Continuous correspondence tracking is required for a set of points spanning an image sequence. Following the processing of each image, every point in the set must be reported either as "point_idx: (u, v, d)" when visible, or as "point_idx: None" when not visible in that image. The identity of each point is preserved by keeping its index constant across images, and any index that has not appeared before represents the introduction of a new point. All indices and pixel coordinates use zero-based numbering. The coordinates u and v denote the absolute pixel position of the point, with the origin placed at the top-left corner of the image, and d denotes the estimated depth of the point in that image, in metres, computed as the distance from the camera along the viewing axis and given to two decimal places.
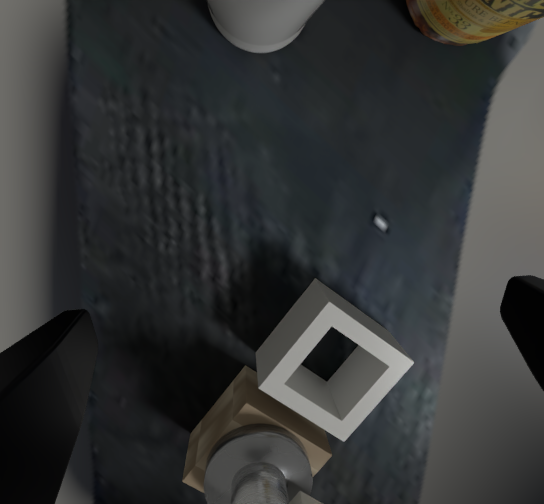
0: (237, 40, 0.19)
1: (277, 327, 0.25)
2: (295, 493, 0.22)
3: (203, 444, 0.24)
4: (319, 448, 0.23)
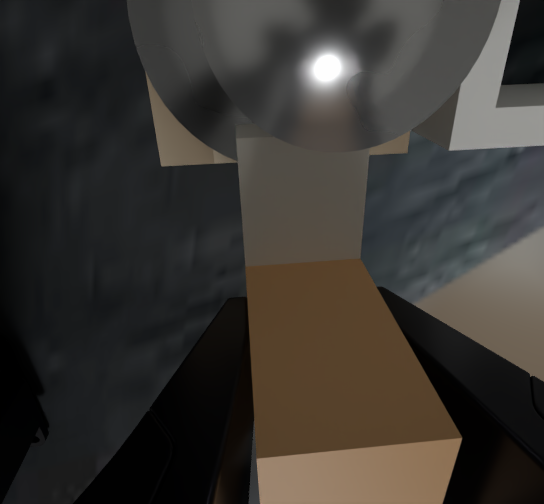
0: None
1: None
2: None
3: None
4: None
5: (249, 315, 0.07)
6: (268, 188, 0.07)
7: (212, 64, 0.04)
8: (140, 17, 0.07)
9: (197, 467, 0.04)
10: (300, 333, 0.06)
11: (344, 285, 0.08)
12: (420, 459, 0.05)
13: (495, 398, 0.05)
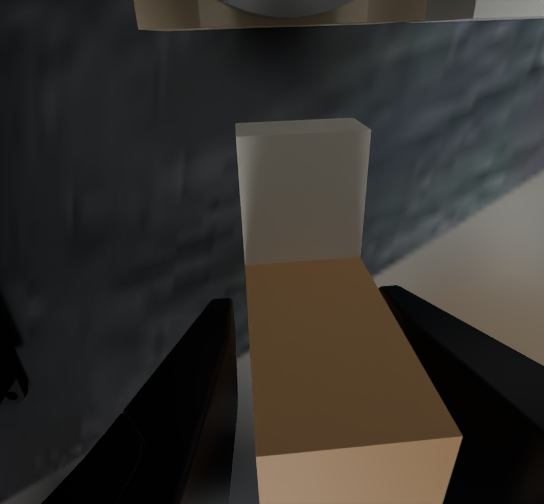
0: None
1: None
2: None
3: None
4: None
5: (249, 314, 0.07)
6: (268, 186, 0.07)
7: None
8: None
9: (165, 470, 0.04)
10: (300, 331, 0.06)
11: (344, 284, 0.07)
12: (420, 458, 0.05)
13: (521, 396, 0.05)
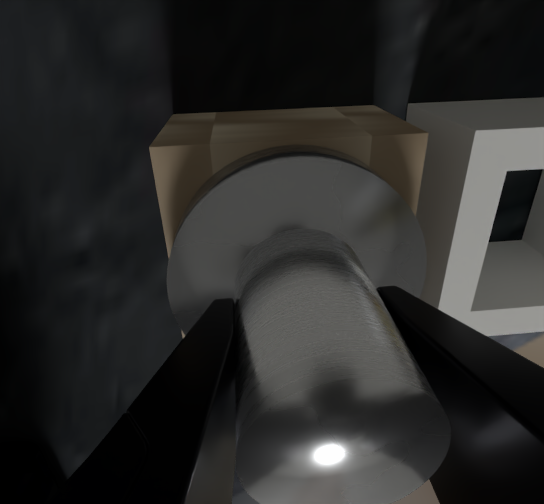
0: None
1: (482, 101, 0.12)
2: None
3: (238, 132, 0.10)
4: None
5: None
6: None
7: (248, 488, 0.06)
8: (177, 295, 0.09)
9: (169, 470, 0.04)
10: None
11: None
12: None
13: (517, 396, 0.05)
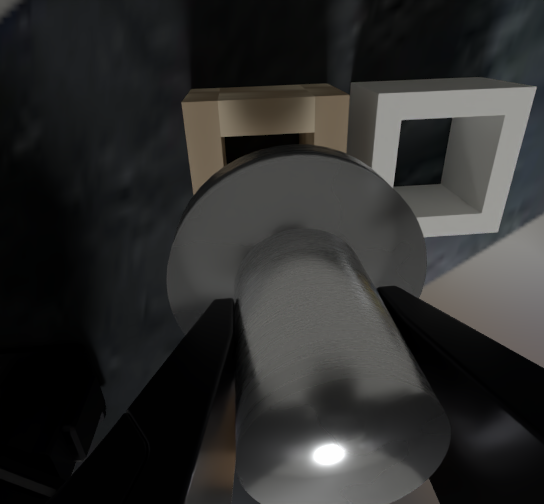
0: None
1: (401, 80, 0.18)
2: None
3: (235, 96, 0.16)
4: None
5: None
6: None
7: (248, 487, 0.06)
8: (177, 295, 0.09)
9: (169, 470, 0.04)
10: None
11: None
12: None
13: (517, 396, 0.05)
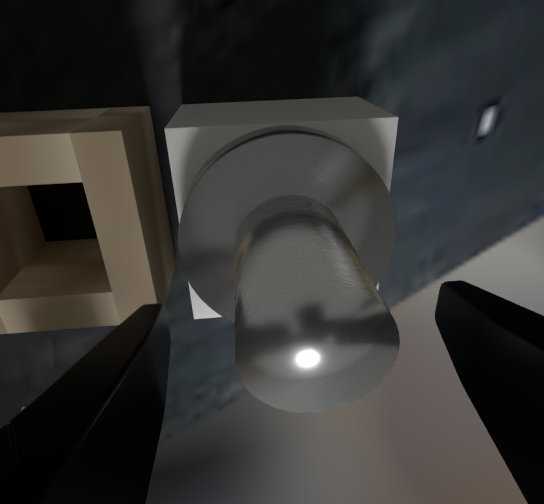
0: None
1: (248, 102, 0.14)
2: None
3: None
4: (153, 299, 0.13)
5: None
6: None
7: (245, 382, 0.07)
8: (186, 252, 0.11)
9: (24, 484, 0.04)
10: None
11: None
12: None
13: None
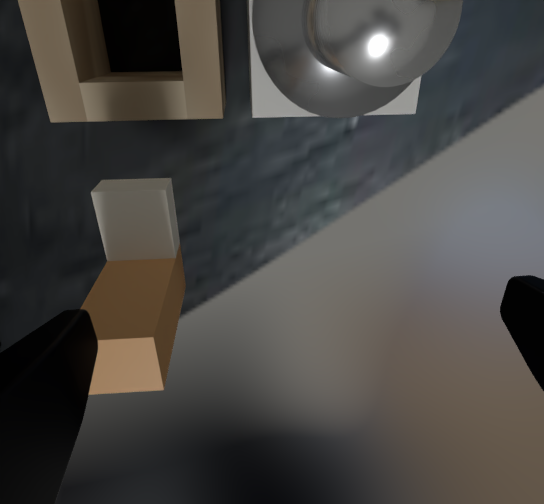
0: None
1: None
2: (363, 89, 0.14)
3: None
4: (218, 91, 0.14)
5: (93, 286, 0.13)
6: (113, 218, 0.14)
7: (331, 43, 0.09)
8: (259, 18, 0.12)
9: None
10: (114, 295, 0.12)
11: (154, 272, 0.14)
12: (138, 347, 0.11)
13: None
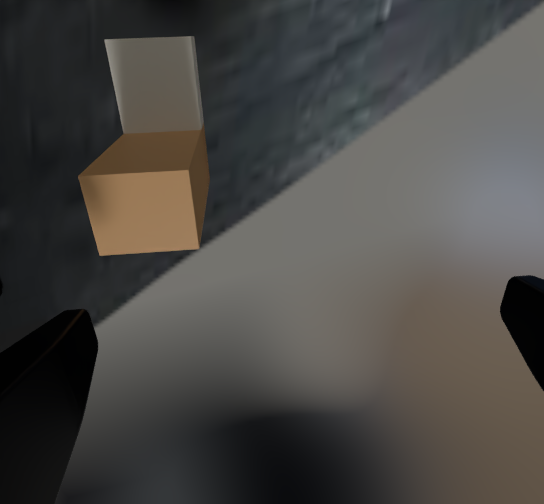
0: None
1: None
2: None
3: None
4: None
5: (110, 146, 0.11)
6: (130, 75, 0.12)
7: None
8: None
9: None
10: (135, 150, 0.11)
11: (179, 137, 0.12)
12: (170, 185, 0.09)
13: None
